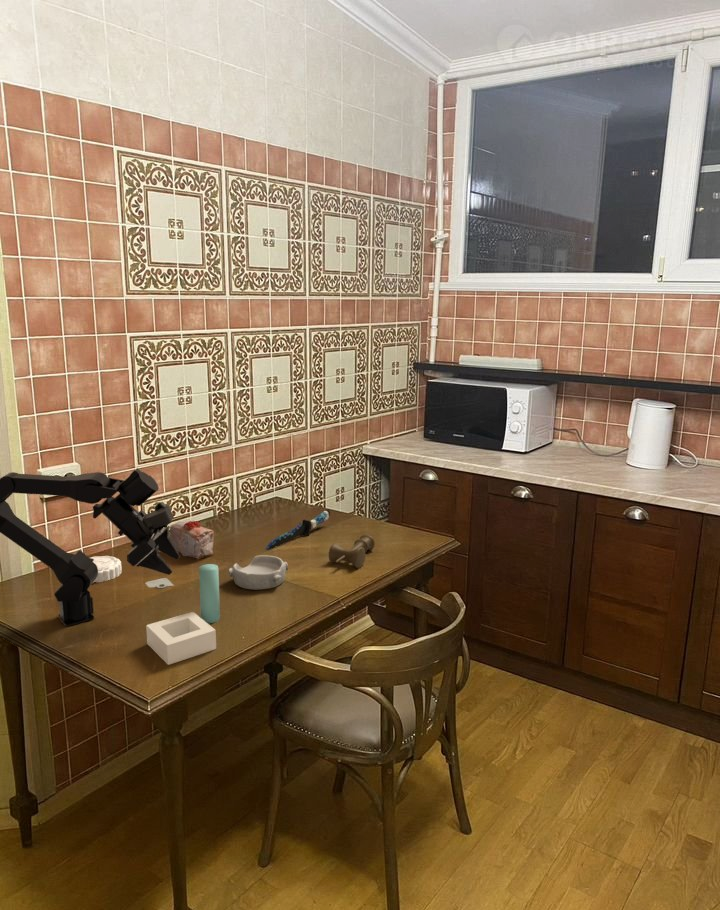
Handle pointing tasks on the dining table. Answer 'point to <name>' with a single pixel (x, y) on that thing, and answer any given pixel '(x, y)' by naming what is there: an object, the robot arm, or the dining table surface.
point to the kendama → (352, 551)
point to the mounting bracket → (159, 583)
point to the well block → (181, 637)
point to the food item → (192, 539)
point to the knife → (300, 529)
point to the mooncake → (107, 568)
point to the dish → (260, 573)
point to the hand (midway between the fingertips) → (174, 565)
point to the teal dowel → (209, 593)
